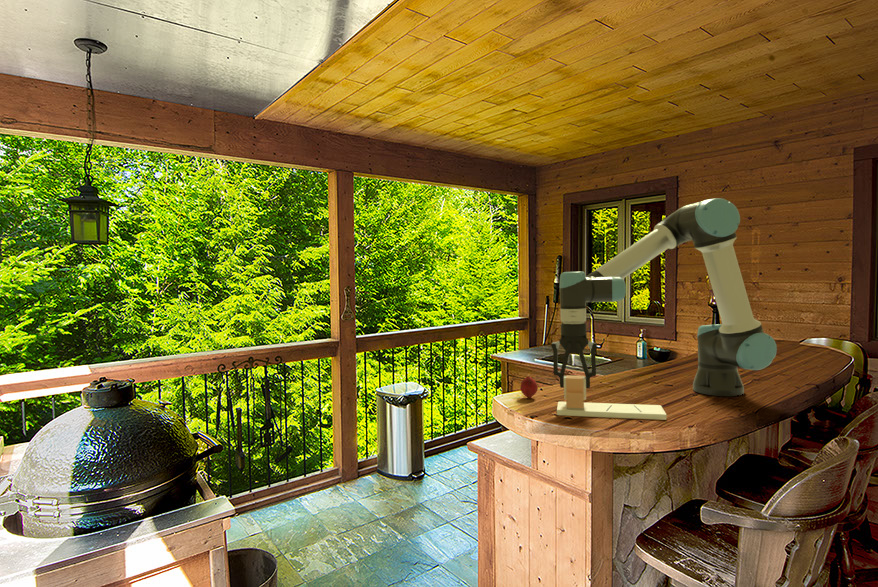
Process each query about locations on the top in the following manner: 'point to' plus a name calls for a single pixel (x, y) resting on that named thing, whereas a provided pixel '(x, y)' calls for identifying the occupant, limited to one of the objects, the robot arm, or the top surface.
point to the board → (615, 411)
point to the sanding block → (574, 392)
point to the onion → (529, 387)
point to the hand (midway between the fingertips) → (575, 398)
